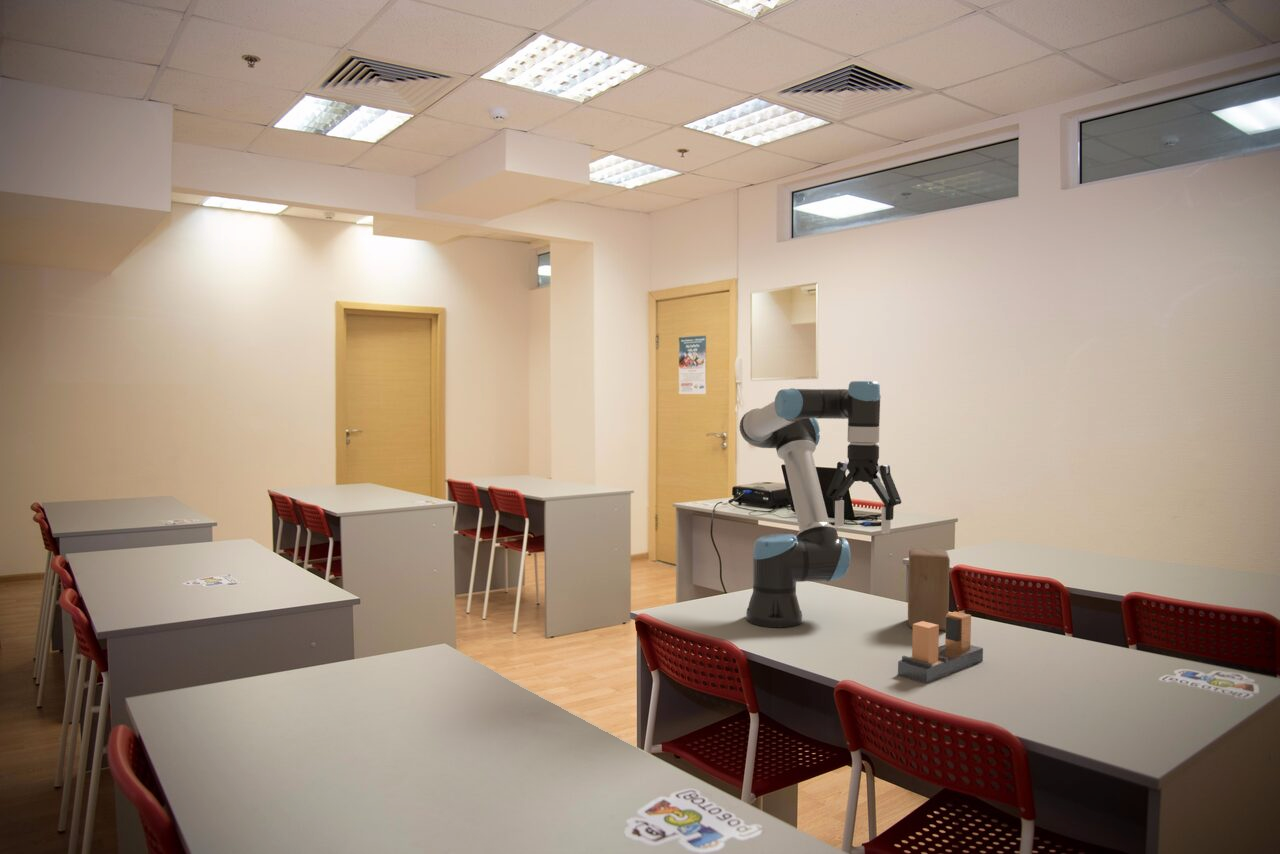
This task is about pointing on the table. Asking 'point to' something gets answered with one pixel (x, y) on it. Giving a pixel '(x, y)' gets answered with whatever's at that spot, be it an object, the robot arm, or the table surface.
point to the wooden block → (928, 587)
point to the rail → (946, 652)
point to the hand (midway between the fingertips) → (861, 529)
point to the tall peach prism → (925, 641)
